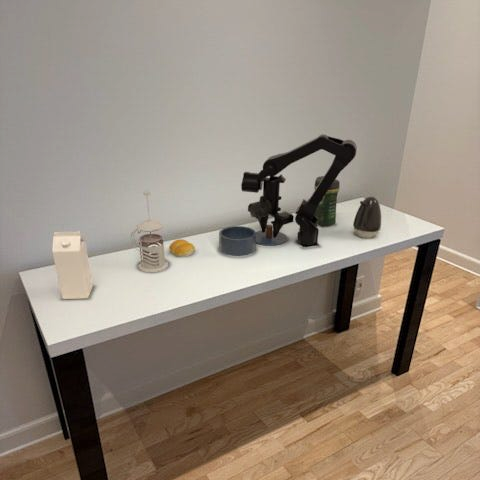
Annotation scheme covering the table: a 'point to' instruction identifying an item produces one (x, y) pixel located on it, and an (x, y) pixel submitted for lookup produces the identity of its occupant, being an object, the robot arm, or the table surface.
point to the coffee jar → (327, 204)
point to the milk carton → (72, 265)
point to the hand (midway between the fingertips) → (269, 234)
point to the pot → (237, 241)
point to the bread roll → (182, 248)
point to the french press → (151, 260)
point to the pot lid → (270, 237)
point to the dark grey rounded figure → (368, 218)
